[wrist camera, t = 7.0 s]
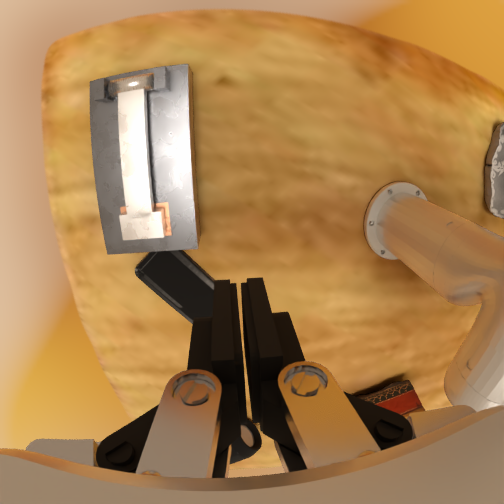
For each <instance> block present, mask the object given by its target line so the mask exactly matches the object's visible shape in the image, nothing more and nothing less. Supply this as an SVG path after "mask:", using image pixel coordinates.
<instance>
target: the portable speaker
mask: <svg viewBox="0 0 504 504" xmlns="http://www.w3.org/2000/svg"><path fill="white" fill-rule="evenodd" d="M261 445H262V440H261V436H260V433H259V431H258V429H257V428H256V426H255V425H254V424H253V423H252V422H251V421H250V420H248V419H247V424H241V436H240V437H239V438H238V439H236V440H235V441H234V442H233V443H232V444H231V456H230V464H232V463H235V462H238V461H241V460H243V459H246V458H249V457H251V456H252V455H254V454H255V453H256V452H257V451H258V450H259V449H260V447H261Z"/></svg>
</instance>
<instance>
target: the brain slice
mask: <svg viewBox="0 0 504 504" xmlns="http://www.w3.org/2000/svg"><path fill="white" fill-rule="evenodd" d="M486 164H487V165H486V166H485V172H484V175H485V201H486V204H487V207H488V209H489V211H490V212H491V213H493V215H495V216H496V217H500V218H503V219H504V122H502V123H501V124H500V125H498V126H497V128H496V130H495V131H494V132H493V135H492V141H491V144H490V147H489V151H488V154H487V159H486Z"/></svg>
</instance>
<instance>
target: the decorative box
mask: <svg viewBox="0 0 504 504" xmlns="http://www.w3.org/2000/svg"><path fill="white" fill-rule="evenodd" d="M357 397H358V398H360V399H363V400H365V401H368V402H370V403H373V404H375V405H378V406H380V407H383V408H386V409H388V410H391V411H394V412H396V413H398V414H400V415H402V416H404V417H408V416H409V414H410V413H415V412H422V411H425V409H424V407H423V406H422V404H421V402H420V400H419V398H418V396H417V394H416V392H415V390H414V388H413V386H412V385H411V382H410V381H409V380H405V381H402V382H399V381H397V382H394V383H391V384H390V385H388V386H386V387H384V388H383V389H381V390H380V391H377V392H373V393H370V394H367V395H359V396H357Z"/></svg>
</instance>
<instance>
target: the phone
mask: <svg viewBox="0 0 504 504" xmlns="http://www.w3.org/2000/svg"><path fill="white" fill-rule="evenodd" d="M135 274H136V276H137V277H138V278H139V279H140V280H141V281H143V282H144V283H145V284H146V285H147V286H148V287H149V288H150V289H152V290H153V291H154V292H155V293H156V294H157V295H159V296H160V297H161V298H162V299H163V300H164V301H166V302H167V303H168V304H169V305H170V306H171V307H173V308H174V309H175V310H176V311H177V312H179V313H180V314H181V315H182V316H184V317H185V318H186V319H187V320H188V321H190V322H191V323H192V324H193V319H194V318H201V317H213V296H214V279H213V278H212V277H211V276H210V275H209V274H207V273H206V272H205V271H204V270H203V269H202V268H201V267H200V266H199V265H198V264H197V263H196V262H195V261H193V260H192V259H191V258H190V257H189V256H188V255H187V254H186V253H185V252H184V251H183V250H171V251H155V252H150V253H149V254H148V255H147V256H146V257H145V258H144V259H143V260H142V261H141V262H140V263H139V264H138V265H137V267H136V268H135Z"/></svg>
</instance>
